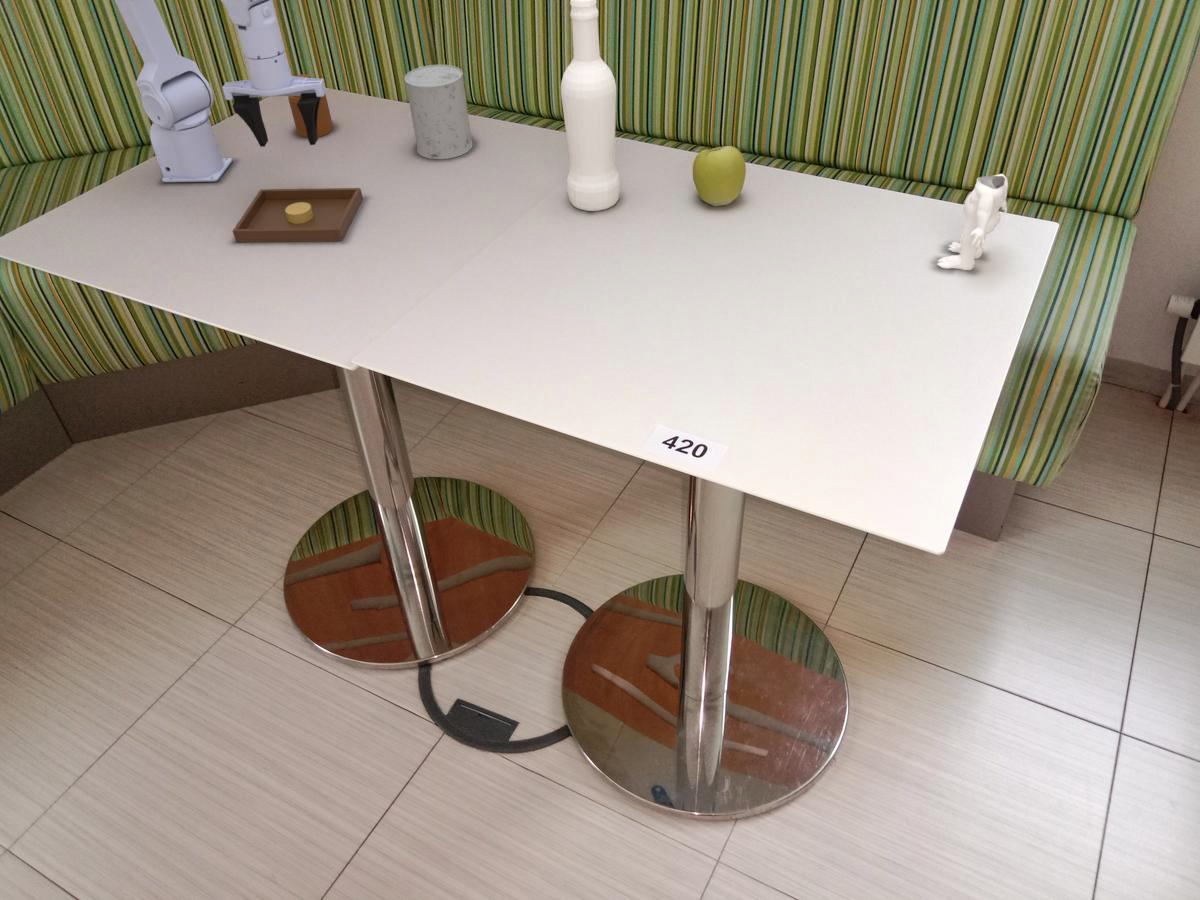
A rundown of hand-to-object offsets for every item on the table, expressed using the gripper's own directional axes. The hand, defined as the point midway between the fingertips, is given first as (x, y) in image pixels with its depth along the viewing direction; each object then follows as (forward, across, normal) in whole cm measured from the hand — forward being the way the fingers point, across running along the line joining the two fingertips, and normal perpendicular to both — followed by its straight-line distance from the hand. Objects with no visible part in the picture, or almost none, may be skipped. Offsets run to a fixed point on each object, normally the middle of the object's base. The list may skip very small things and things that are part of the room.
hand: (289, 143), depth 147 cm
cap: (+8, -1, +6) cm, 10 cm away
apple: (+10, -65, +4) cm, 66 cm away
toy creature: (+9, -97, +24) cm, 101 cm away
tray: (+10, -1, +6) cm, 12 cm away
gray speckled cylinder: (+10, -20, -18) cm, 29 cm away
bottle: (+10, -46, +3) cm, 47 cm away
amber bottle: (+10, +4, -27) cm, 29 cm away
